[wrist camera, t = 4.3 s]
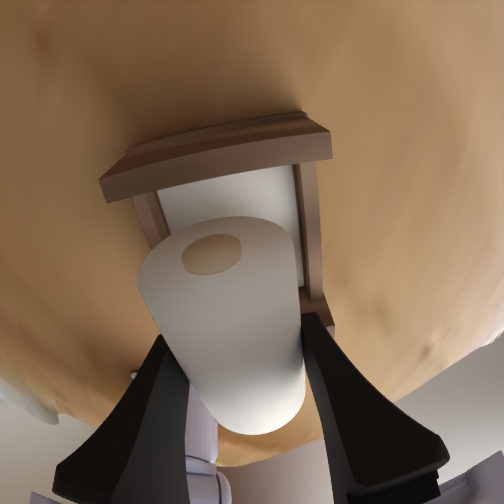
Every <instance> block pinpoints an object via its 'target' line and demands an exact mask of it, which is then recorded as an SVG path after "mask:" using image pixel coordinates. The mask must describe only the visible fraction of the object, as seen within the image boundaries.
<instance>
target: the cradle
mask: <svg viewBox="0 0 504 504" xmlns="http://www.w3.org/2000/svg"><path fill="white" fill-rule="evenodd" d="M125 153H126V155H125V156H124V157H123V158H122V159H121V160H119V161H118V162H117V163H116V164H115V165H114V166H113V167H111V168H110V169H109V170H108V171H107V172H106V173H105V174H104V175H103V176H102V177H100V178H99V179H98V180H99V183H100V186H101V189H102V191H103V194H104V197H105V199H106V202H107V203H111V202H114V201H118V200H122V199H125V198H129V197H131V198H132V200H133V203H134V206H135V209H136V212H137V214H138V217H139V220H140V222H141V225H142V228H143V230H144V233H145V236H146V238H147V241H148V243H149V246H150V248H151V250H153V249H154V248H155V247H156V246H157V245H158V244H159V243H160V242H162V241H163V240H165V239H166V238H167V237H169V236H171V235H172V234H174V233H176V232H178V231H180V230H182V229H184V228H186V227H189V226H191V225H194V224H197V223H200V222H203V221H207V220H211V219H215V218H222V217H231V216H248V217H256V218H261V219H265V220H268V221H271V222H273V223H275V224H277V225H279V226H280V227H282V228H283V229H284V230H285V231H286V232H287V233H288V234H289V235H290V237H291V239H292V241H293V245H294V252H295V262H296V272H297V283H298V293H299V305H300V314H304V313H309V312H314V311H315V312H317V313H318V315H319V317H320V319H321V321H322V322H323V324H324V326H325V327H326V329H327V330H328V332H329V333H330V335H331V336H332V338H334V334H335V324H334V321H333V318H332V316H331V313H330V310H329V307H328V304H327V301H326V299H325V296H324V293H323V283H322V252H321V231H320V214H319V199H318V186H317V174H316V163H315V161H320V160H328V159H332V146H331V134H330V131H329V130H327V129H326V128H324V127H322V126H321V125H319V124H318V123H316V122H314V121H313V120H311V119H309V118H308V117H307V113H305V112H295V113H287V114H279V115H272V116H265V117H259V118H253V119H247V120H241V121H235V122H230V123H225V124H220V125H215V126H210V127H205V128H201V129H196V130H192V131H188V132H184V133H180V134H176V135H172V136H168V137H164V138H160V139H157V140H153V141H149V142H146V143H142V144H139V145H136V146H132V147H130V148H129V149H127V150H126V151H125Z"/></svg>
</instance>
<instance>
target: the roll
mask: <svg viewBox="0 0 504 504" xmlns="http://www.w3.org/2000/svg"><path fill="white" fill-rule="evenodd" d="M137 286H138V289H139V292H140V294H141V296H142V298H143V300H144V302H145V304H146V306H147V308H148V310H149V312H150V314H151V315H152V317H153V319H154V321H155V323H156V325H157V327H158V328H159V330H160V332H161V334H162V336H163V337H164V339H165V341H166V343H167V344H168V346H169V348H170V349H171V351H172V353H173V355H174V356H175V358H176V360H177V361H178V363H179V365H180V366H181V368H182V370H183V371H184V373H185V374H186V376H187V378H188V379H189V381H190V382H191V384H192V385H193V387H194V389H195V390H196V392H197V393H198V395H199V396H200V398H201V399H202V401H203V402H204V404H205V405H206V407H207V408H208V410H209V411H210V413H211V414H212V416H213V417H214V418H215V419H216V421H217V422H219V423H220V424H221V425H222V426H224V427H225V428H227V429H229V430H231V431H233V432H236V433H240V434H247V435H257V434H264V433H268V432H271V431H274V430H276V429H278V428H280V427H282V426H284V425H285V424H286V423H288V422H289V421H290V420H291V419H292V418H293V417H294V416H295V415H296V414H297V412H298V411H299V409H300V407H301V406H302V403H303V400H304V396H305V374H304V358H303V344H302V331H301V317H300V305H299V293H298V283H297V272H296V262H295V252H294V245H293V241H292V239H291V237H290V235H289V234H288V233H287V232H286V231H285V230H284V229H283V228H282V227H280V226H279V225H277V224H275V223H273V222H271V221H268V220H265V219H261V218H256V217H248V216H231V217H222V218H215V219H211V220H207V221H203V222H200V223H197V224H194V225H191V226H189V227H186V228H184V229H182V230H180V231H178V232H176V233H174V234H172V235H171V236H169V237H167V238H166V239H165V240H163V241H162V242H160V243H159V244H158V245H157V246H156V247H155V248H154V249H153V250H151V251H150V253H149V254H148V255H147V256H146V258H145V259H144V261H143V262H142V264H141V266H140V268H139V271H138V275H137Z"/></svg>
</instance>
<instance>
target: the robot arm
mask: <svg viewBox="0 0 504 504" xmlns="http://www.w3.org/2000/svg"><path fill="white" fill-rule="evenodd" d="M300 317H301V331H302V344H303V358H304V363H305V369H306V373H307V376H308V379H309V383H310V386H311V389H312V392H313V396H314V399H315V402H316V406H317V409H318V412H319V416H320V420H321V424H322V428H323V434H324V440H325V445H326V451H327V457H328V463H329V470H330V476H331V483H332V491H333V498H334V504H504V456H503V453H502V451H498V452H496V453H495V454H493V455H492V456H490V457H489V458H487V459H485V460H484V461H482V462H480V463H479V464H477V465H475V466H474V467H472V468H470V469H469V470H467V471H466V472H465V473H463V474H461V475H459V476H457V477H455V478H453V479H451V480H449V481H447V482H445V483H443V484H441V485H439V486H438V483H437V479H438V478H439V475H438V472H437V469H439V468H440V467H442V466H443V465H445V464H446V463H447V462H448V461H449V459H450V456H449V453H448V450H447V448H446V446H445V444H444V442H443V441H442V439H441V438H440V436H439V435H437V434H435V433H434V432H432V431H430V430H429V429H427V428H425V427H424V426H422V425H421V424H419V423H418V422H416V421H415V420H413V419H412V418H411V417H409V416H408V415H407V414H405V413H404V412H403V411H402V410H400V409H399V408H398V407H397V406H395V405H394V404H393V403H392V402H390V401H389V400H388V399H387V398H386V397H385V396H383V395H382V394H381V393H380V392H379V391H378V390H377V389H376V388H375V387H374V386H373V385H372V384H371V383H370V382H369V381H368V380H367V379H366V378H365V377H364V376H363V375H362V374H361V373H360V372H359V371H358V369H357V368H356V367H355V366H354V365H353V364H352V362H351V361H350V360H349V359H348V358H347V356H346V355H345V354H344V352H343V351H342V350H341V349H340V347H339V346H338V345H337V343H336V342H335V341H334V339H333V338H332V336H331V335H330V333H329V332H328V330H327V329H326V327H325V326H324V324H323V322H322V321H321V319H320V317H319V315H318V313H317V312H315V311H314V312H309V313H304V314H300ZM131 377H132V379H133V381H132V383H131V384H130V386H129V387H128V389H127V390H126V392H125V394H124V395H123V397H122V398H121V400H120V401H119V402H118V404H117V405H116V407H115V408H114V409H113V411H112V412H111V413H110V415H109V416H108V417H107V418H106V420H105V421H104V422H103V423H102V424H101V425H100V427H99V428H98V429H97V430H96V431H95V432H94V433H93V434H92V435H91V436H90V438H88V440H86V441H85V442H84V444H82V445H81V446H80V447H79V448H78V449H77V450H76V451H75V452H73V453H72V454H71V455H70V456H68V457H67V458H66V459H65V460H64V461H62V462H61V463H59V464H58V465H57V467H56V471H55V477H54V482H53V488H52V491H53V493H54V494H56V495H58V496H61V497H63V498H66V499H68V500H70V501H73V502H75V503H78V504H231V490H230V485H229V482H228V480H227V479H226V478H225V477H224V475H223V474H222V473H221V472H216V464H214V462H215V460H216V458H217V453H218V442H217V421H216V419H215V418H214V417H213V416H212V414H211V413H210V411H209V410H208V408H207V407H206V405H205V404H204V402H203V401H202V399H201V398H200V396H199V395H198V393H197V392H196V390H195V389H194V387H193V385H192V384H191V382H190V381H189V379H188V378H187V376H186V374H185V373H184V371H183V370H182V368H181V366H180V365H179V363H178V361H177V360H176V358H175V356H174V355H173V353H172V351H171V349H170V348H169V346H168V344H167V343H166V341H165V339H164V337H163V336H162V334H159V335H158V337H157V339H156V340H155V342H154V344H153V346H152V348H151V349H150V351H149V353H148V355H147V357H146V358H145V360H144V362H143V364H142V366H141V367H140V369H139V371H138V372H133V373H132V374H131ZM30 504H61V503H59V502H57V501H54V500H52V499H49V498H47V497H44V496H42V495H39V494H37V493H35V492H32V493H31V498H30Z"/></svg>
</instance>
